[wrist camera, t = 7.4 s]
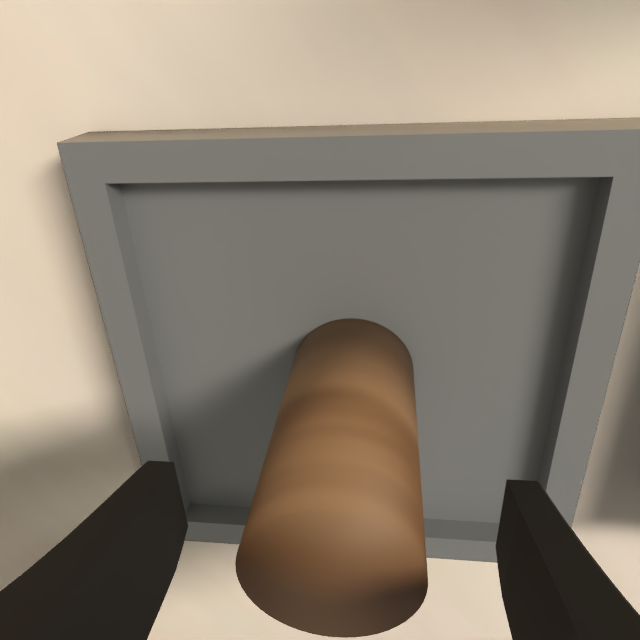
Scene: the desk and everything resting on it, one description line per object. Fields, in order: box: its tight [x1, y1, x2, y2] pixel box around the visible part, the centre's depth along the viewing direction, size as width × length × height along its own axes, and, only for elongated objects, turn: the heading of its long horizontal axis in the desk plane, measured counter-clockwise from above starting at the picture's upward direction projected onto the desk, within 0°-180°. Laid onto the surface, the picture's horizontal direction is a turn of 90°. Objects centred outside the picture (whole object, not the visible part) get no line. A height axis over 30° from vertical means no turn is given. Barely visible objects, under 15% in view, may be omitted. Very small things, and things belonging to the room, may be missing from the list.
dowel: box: [236, 318, 428, 637], centre depth 13 cm, size 4×4×7 cm
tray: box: [57, 118, 640, 562], centre depth 16 cm, size 14×14×2 cm
